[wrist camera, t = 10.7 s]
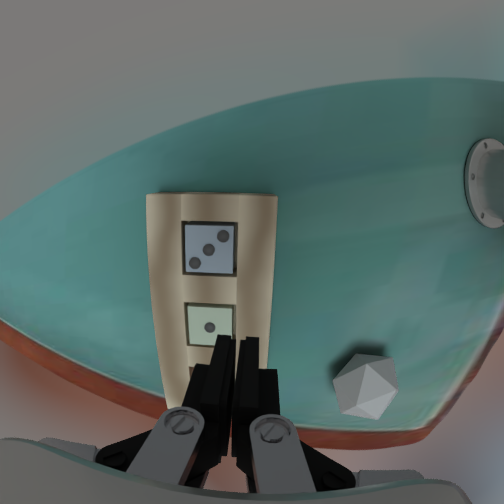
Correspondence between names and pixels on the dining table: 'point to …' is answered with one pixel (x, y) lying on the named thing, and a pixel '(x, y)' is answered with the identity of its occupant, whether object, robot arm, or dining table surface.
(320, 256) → the dining table surface
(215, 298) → the button board
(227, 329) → the button one
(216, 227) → the button three
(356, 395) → the die
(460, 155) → the dining table surface
